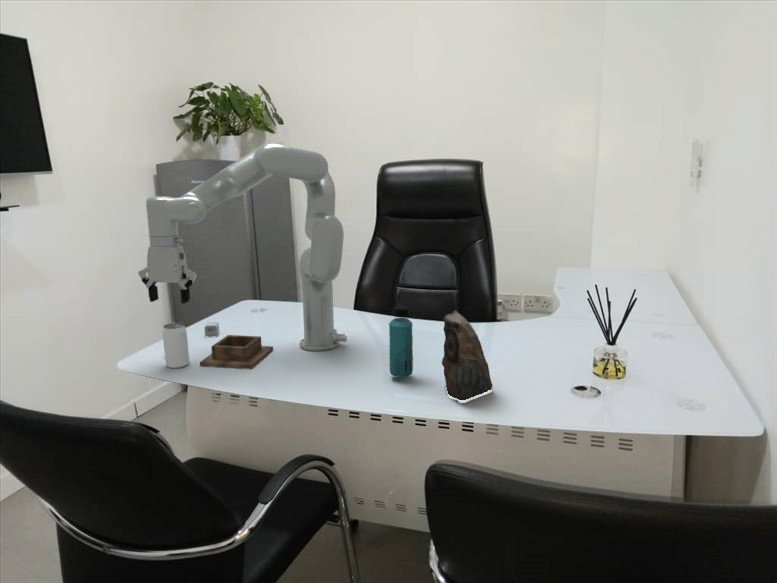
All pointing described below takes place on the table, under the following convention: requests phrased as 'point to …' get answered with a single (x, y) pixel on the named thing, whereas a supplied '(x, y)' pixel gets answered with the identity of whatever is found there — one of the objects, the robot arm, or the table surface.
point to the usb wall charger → (212, 329)
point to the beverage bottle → (401, 343)
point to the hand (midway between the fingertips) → (169, 301)
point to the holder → (237, 352)
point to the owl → (463, 359)
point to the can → (175, 345)
